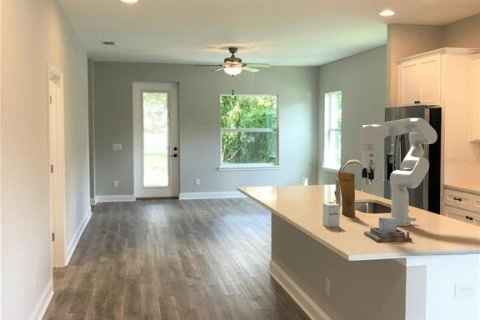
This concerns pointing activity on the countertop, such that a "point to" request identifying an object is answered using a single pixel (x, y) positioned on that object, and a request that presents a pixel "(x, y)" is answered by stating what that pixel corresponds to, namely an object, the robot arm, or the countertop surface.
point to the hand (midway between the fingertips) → (367, 178)
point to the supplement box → (331, 214)
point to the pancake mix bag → (347, 193)
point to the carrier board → (387, 235)
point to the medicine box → (387, 224)
